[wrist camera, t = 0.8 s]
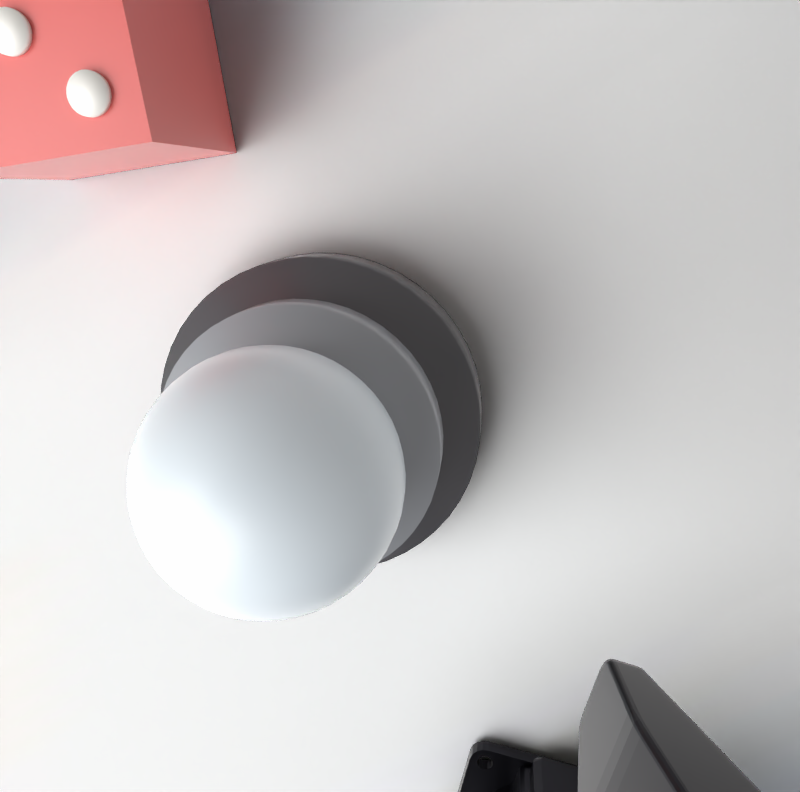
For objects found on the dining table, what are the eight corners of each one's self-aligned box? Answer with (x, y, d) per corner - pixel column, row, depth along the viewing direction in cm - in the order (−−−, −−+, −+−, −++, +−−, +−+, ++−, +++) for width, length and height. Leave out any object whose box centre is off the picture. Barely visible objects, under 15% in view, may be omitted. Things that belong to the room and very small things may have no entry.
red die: (236, 152, 20) (148, 141, 15) (70, 179, 21) (-65, 177, 16) (198, -52, 19) (88, -138, 14) (23, -14, 19) (-139, -83, 15)
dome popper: (410, 589, 20) (372, 751, 14) (160, 523, 20) (25, 654, 15) (472, 336, 18) (457, 406, 12) (191, 269, 18) (48, 306, 13)
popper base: (442, 578, 23) (438, 604, 21) (167, 506, 23) (145, 526, 22) (516, 293, 20) (517, 301, 18) (202, 220, 21) (180, 223, 19)
